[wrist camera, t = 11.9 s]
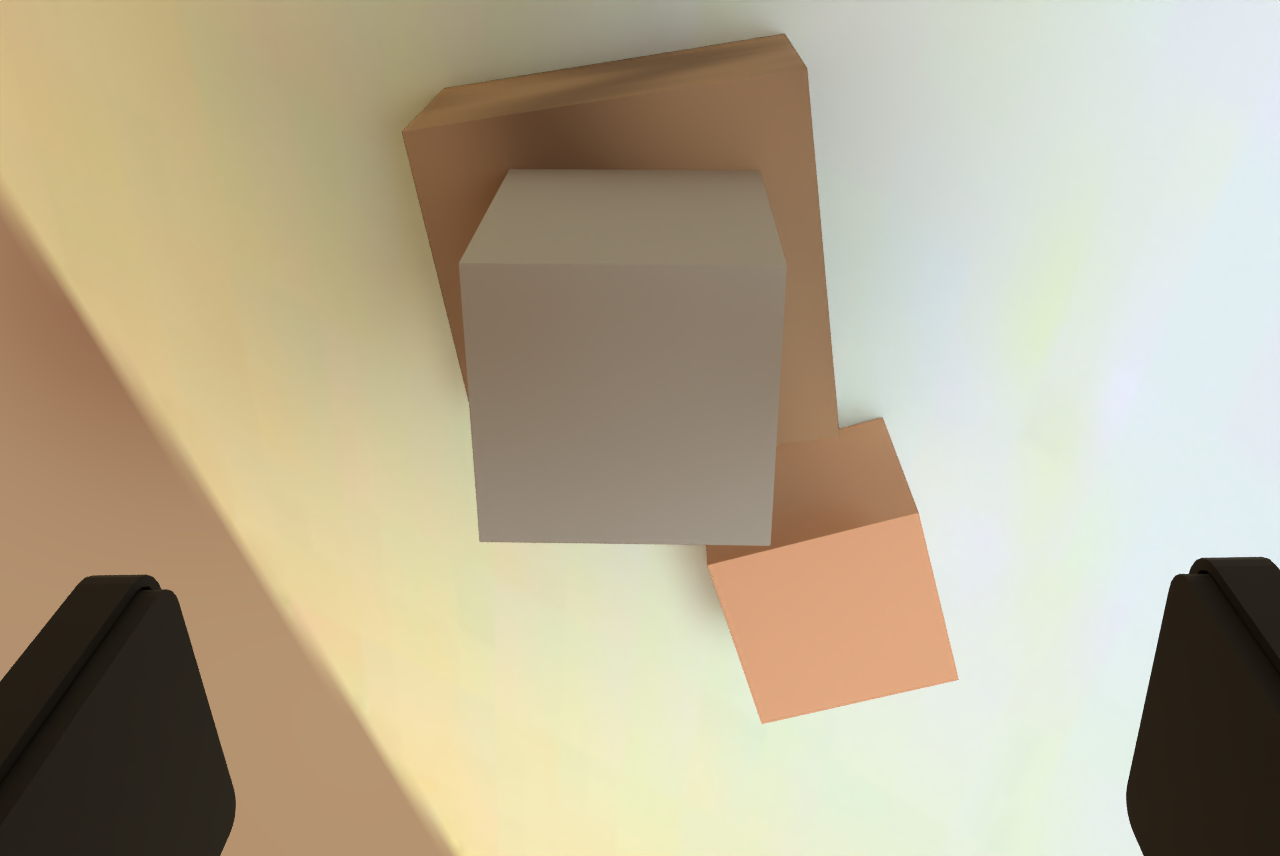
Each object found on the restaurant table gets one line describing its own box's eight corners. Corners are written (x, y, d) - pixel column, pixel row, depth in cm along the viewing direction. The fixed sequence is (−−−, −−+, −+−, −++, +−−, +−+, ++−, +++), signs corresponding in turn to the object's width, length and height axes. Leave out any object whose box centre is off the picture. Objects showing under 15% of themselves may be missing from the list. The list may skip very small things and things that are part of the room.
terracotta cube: (882, 416, 30) (918, 512, 26) (919, 566, 32) (958, 679, 28) (702, 463, 31) (707, 565, 27) (749, 607, 33) (761, 724, 29)
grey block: (760, 170, 23) (787, 265, 17) (749, 398, 25) (770, 545, 19) (509, 169, 23) (458, 263, 17) (521, 396, 25) (479, 541, 20)
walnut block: (783, 32, 26) (806, 68, 22) (814, 350, 30) (839, 436, 25) (446, 86, 27) (401, 131, 22) (515, 389, 30) (488, 481, 26)
